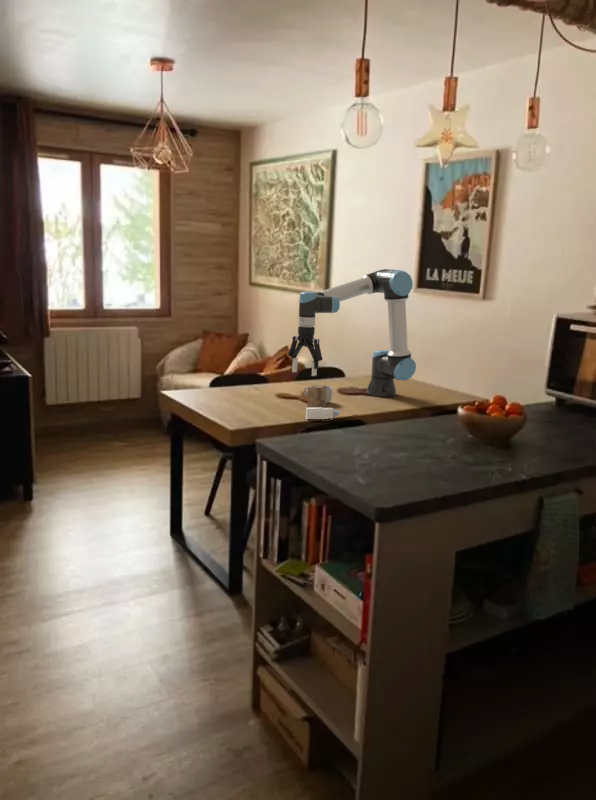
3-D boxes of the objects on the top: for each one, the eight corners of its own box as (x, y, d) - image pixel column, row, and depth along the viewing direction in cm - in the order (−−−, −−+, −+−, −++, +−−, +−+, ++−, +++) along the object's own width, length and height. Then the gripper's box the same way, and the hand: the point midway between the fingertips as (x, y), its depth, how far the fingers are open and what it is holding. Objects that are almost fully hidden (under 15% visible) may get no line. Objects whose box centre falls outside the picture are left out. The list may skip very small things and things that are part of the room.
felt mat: (329, 408, 315) (329, 408, 315) (357, 415, 306) (357, 414, 306) (310, 413, 305) (311, 412, 304) (339, 420, 295) (340, 419, 295)
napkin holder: (299, 420, 293) (299, 408, 292) (309, 415, 303) (310, 403, 302) (331, 425, 287) (332, 412, 286) (340, 420, 298) (341, 407, 296)
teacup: (334, 402, 330) (335, 386, 328) (328, 406, 320) (329, 390, 318) (307, 399, 334) (308, 383, 332) (300, 403, 324) (301, 387, 322)
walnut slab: (318, 408, 316) (320, 385, 314) (324, 409, 314) (326, 386, 311) (306, 411, 309) (308, 387, 307) (313, 412, 307) (314, 388, 305)
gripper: (281, 323, 312) (279, 370, 317) (322, 329, 298) (319, 378, 303) (291, 323, 318) (289, 369, 322) (332, 328, 304) (329, 376, 308)
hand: (304, 373), depth 313 cm, fingers open, 11 cm apart
